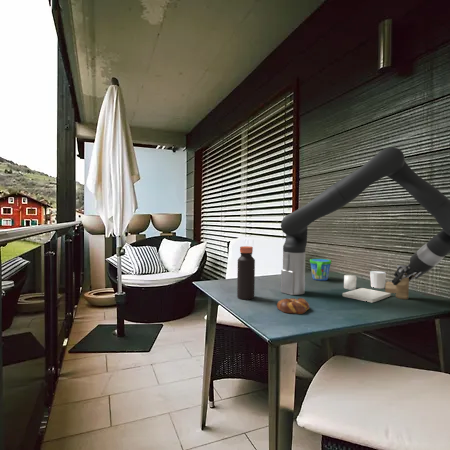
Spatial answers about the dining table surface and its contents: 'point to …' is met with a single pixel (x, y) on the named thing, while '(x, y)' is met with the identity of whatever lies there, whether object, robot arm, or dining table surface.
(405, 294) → the pepper mill
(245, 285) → the bottle
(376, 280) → the white tapered cylinder
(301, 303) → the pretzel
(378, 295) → the stone tile
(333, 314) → the dining table surface
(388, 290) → the wooden block
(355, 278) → the white rounded cylinder
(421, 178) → the robot arm
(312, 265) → the snack cup
